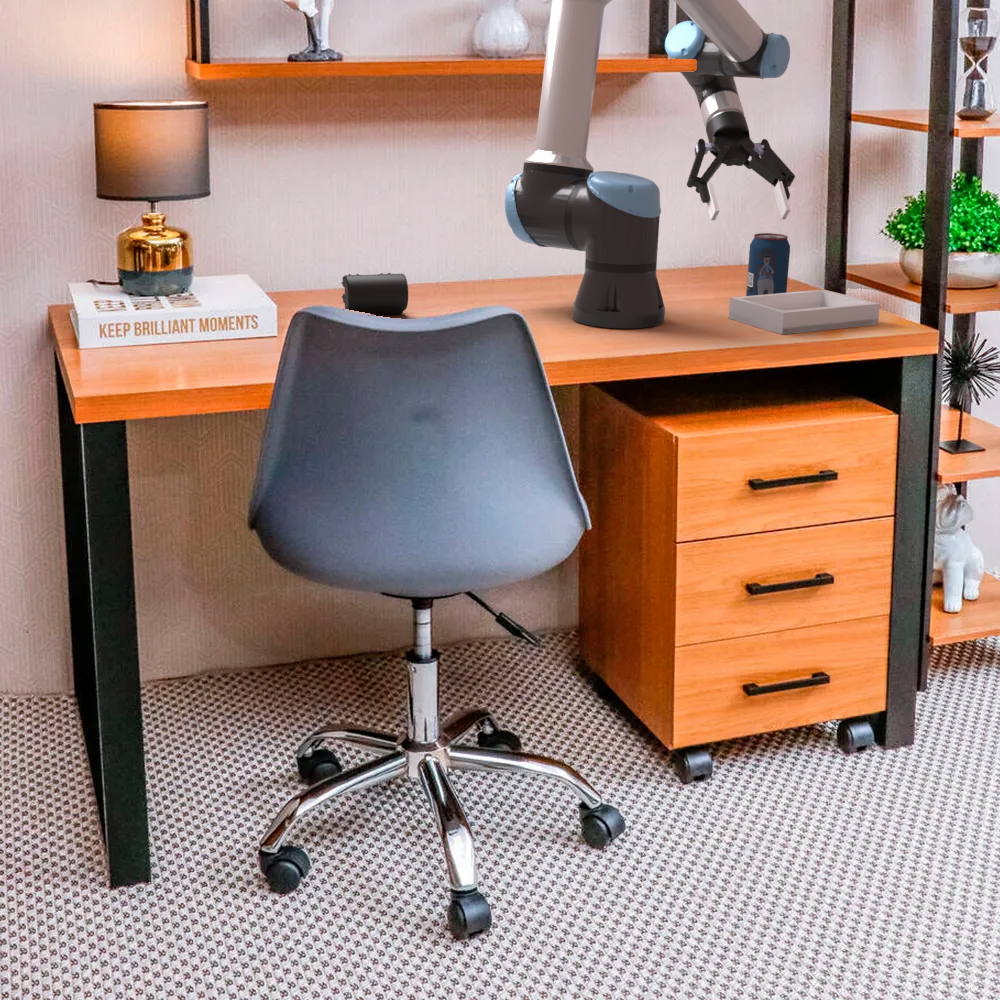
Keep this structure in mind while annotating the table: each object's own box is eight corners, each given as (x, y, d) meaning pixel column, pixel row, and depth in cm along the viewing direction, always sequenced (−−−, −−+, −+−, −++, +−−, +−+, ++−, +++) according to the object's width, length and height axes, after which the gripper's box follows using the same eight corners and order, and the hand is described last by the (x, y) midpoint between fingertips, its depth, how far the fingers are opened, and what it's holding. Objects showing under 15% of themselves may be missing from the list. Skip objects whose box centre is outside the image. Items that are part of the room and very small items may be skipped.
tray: (781, 334, 227) (783, 312, 226) (728, 318, 239) (730, 297, 238) (877, 324, 236) (880, 303, 235) (821, 309, 248) (823, 289, 247)
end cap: (348, 320, 232) (348, 278, 230) (340, 312, 238) (339, 271, 236) (408, 317, 235) (408, 276, 233) (398, 309, 241) (398, 269, 239)
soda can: (773, 299, 256) (779, 232, 252) (792, 307, 250) (798, 237, 246) (738, 301, 254) (743, 233, 250) (756, 308, 248) (762, 238, 244)
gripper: (780, 136, 272) (807, 227, 263) (655, 136, 266) (679, 229, 257) (794, 109, 265) (822, 201, 256) (667, 108, 260) (691, 202, 251)
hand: (750, 215), depth 257 cm, fingers open, 13 cm apart
